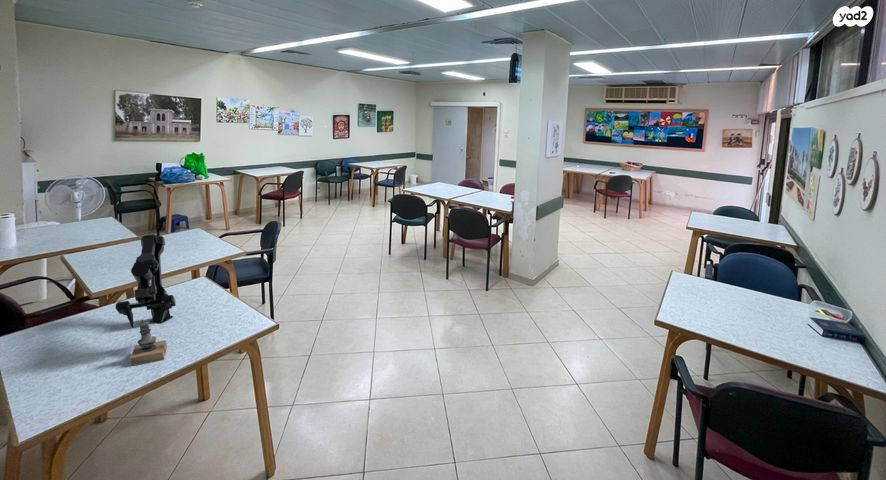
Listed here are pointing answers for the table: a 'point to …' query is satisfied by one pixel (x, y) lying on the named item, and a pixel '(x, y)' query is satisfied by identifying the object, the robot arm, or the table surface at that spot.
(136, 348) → the walnut pedestal
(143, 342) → the grey chess bishop
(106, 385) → the table surface
